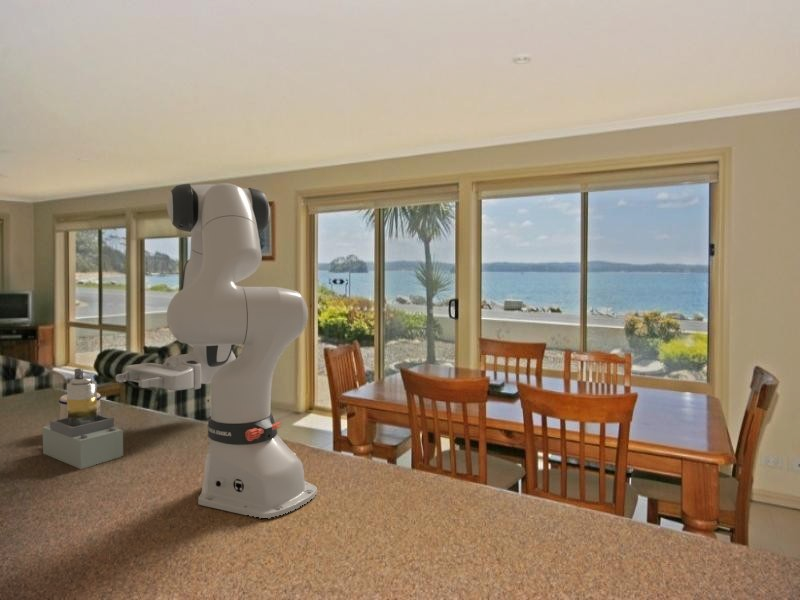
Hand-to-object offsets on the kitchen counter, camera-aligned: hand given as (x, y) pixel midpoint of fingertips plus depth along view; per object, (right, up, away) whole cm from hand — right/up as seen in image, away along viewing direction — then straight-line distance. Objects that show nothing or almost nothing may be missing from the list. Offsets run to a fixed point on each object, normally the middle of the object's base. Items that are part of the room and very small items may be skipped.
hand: (128, 381), depth 126 cm
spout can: (-6, -9, -9) cm, 14 cm away
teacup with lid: (-16, -14, +9) cm, 23 cm away
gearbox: (-8, -15, -7) cm, 18 cm away
